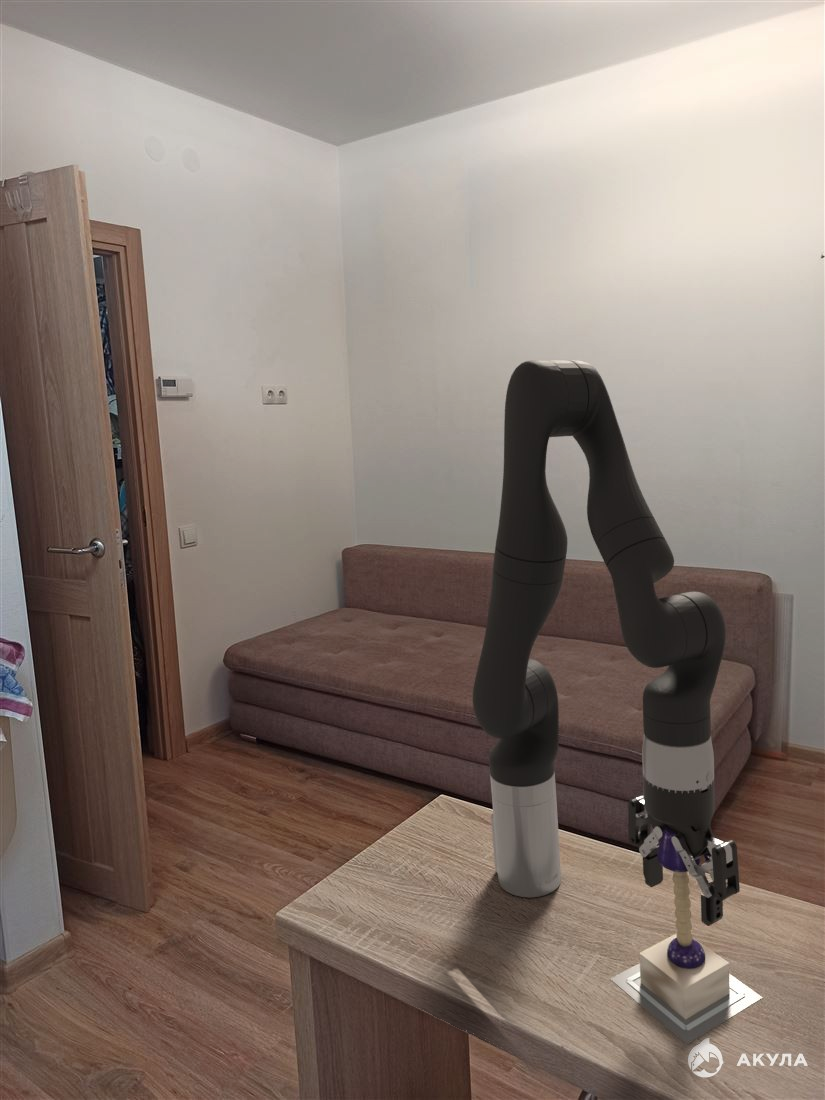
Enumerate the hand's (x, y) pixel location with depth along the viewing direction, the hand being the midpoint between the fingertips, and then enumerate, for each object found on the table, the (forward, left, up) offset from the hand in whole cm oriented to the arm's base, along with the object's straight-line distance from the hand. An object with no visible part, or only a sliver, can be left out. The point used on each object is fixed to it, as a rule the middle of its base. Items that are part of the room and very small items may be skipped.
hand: (681, 902), depth 94 cm
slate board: (0, 0, -12) cm, 12 cm away
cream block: (0, 0, -11) cm, 11 cm away
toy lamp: (0, 0, -7) cm, 7 cm away
